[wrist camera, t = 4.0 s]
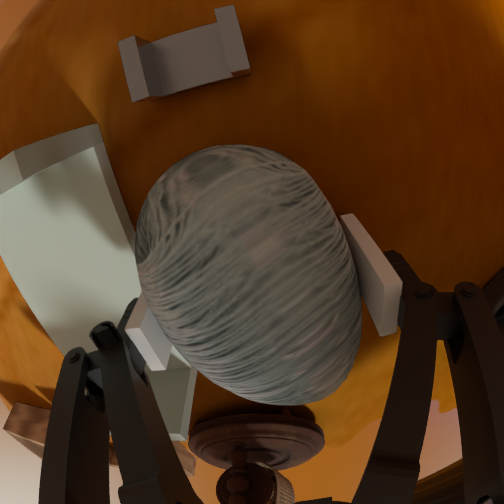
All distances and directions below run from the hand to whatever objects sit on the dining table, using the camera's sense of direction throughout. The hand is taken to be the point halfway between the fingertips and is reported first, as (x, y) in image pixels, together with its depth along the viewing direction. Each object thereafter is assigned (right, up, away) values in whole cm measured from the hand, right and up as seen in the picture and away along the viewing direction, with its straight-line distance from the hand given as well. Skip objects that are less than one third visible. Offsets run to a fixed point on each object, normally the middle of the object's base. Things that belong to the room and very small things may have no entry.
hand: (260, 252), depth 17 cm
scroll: (0, -20, +12) cm, 24 cm away
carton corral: (-32, -29, +17) cm, 46 cm away
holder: (-13, -2, +2) cm, 13 cm away
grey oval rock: (0, 0, +1) cm, 1 cm away
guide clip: (-3, +9, -5) cm, 11 cm away
